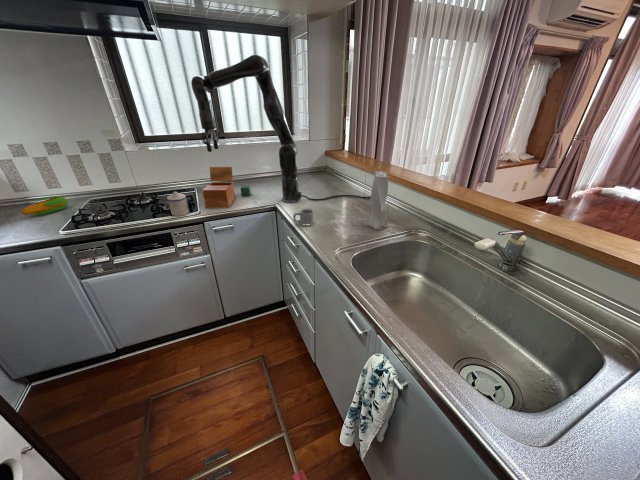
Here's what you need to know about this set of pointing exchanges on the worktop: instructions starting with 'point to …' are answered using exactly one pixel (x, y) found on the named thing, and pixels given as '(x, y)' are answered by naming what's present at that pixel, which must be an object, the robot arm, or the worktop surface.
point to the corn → (46, 206)
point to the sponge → (245, 191)
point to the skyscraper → (379, 201)
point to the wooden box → (218, 195)
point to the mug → (305, 217)
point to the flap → (221, 174)
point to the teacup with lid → (178, 204)
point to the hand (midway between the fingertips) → (213, 150)
